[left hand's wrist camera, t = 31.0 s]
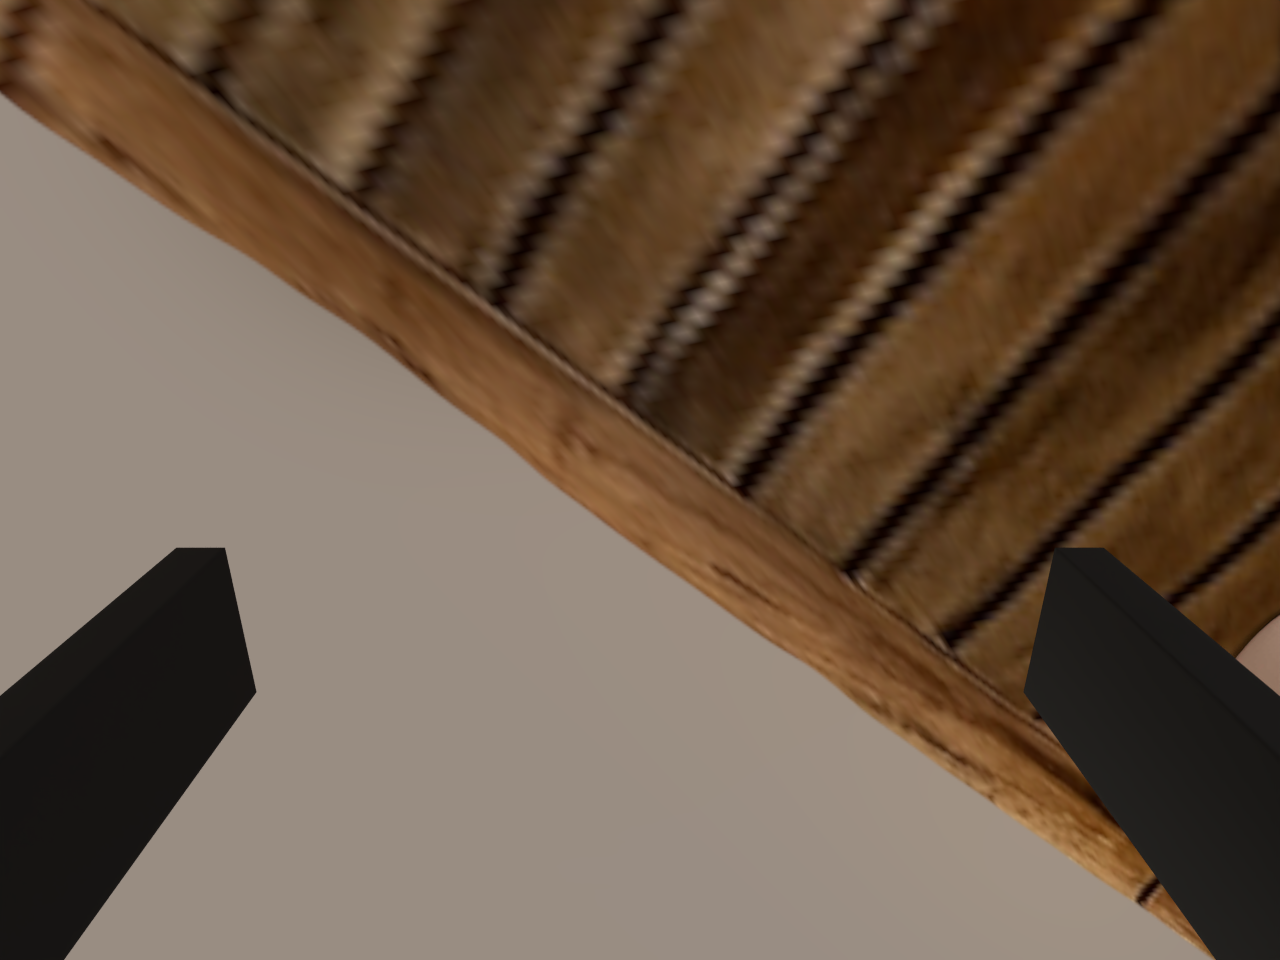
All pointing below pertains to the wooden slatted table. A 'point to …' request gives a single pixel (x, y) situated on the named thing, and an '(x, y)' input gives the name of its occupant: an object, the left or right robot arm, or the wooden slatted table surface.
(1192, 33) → the wooden slatted table surface
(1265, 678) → the anatomical model
